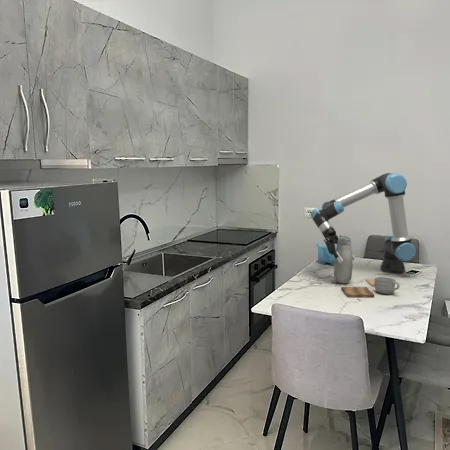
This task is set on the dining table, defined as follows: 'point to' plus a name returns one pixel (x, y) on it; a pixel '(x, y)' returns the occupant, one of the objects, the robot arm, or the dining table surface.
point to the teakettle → (325, 254)
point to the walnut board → (357, 292)
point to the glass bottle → (345, 267)
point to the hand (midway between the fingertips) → (347, 260)
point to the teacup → (385, 285)
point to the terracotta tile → (371, 281)
